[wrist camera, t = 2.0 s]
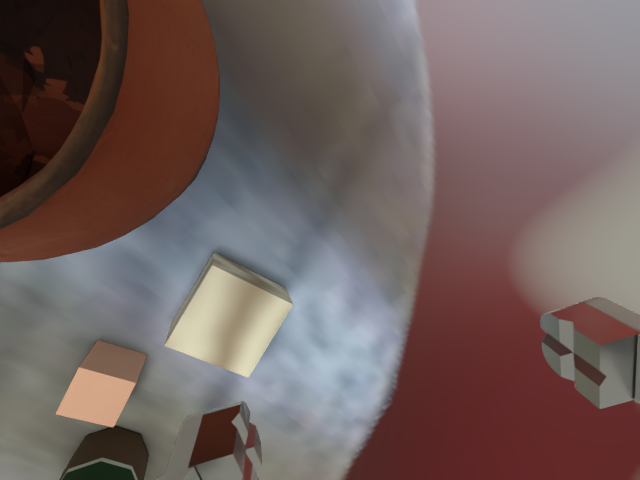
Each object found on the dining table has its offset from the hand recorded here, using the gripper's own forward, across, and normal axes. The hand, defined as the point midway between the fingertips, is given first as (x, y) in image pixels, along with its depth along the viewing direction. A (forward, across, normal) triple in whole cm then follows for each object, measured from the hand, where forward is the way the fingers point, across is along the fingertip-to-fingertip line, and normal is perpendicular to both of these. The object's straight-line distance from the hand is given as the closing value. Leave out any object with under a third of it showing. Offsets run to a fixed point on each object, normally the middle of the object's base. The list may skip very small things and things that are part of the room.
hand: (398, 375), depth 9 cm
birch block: (+28, +12, +9) cm, 32 cm away
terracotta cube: (+26, +25, +11) cm, 37 cm away
